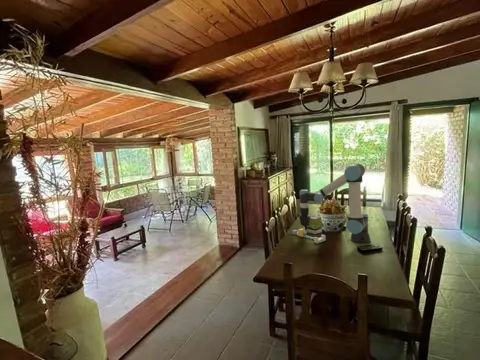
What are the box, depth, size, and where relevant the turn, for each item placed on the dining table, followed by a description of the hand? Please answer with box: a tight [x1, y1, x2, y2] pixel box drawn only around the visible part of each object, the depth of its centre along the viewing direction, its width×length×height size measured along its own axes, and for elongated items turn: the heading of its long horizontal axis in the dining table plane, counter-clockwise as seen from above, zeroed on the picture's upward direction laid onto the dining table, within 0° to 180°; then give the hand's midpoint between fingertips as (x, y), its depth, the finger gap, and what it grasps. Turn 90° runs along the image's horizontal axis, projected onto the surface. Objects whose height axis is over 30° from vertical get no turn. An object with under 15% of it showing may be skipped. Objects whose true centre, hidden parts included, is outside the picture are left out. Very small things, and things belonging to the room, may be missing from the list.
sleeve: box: [297, 227, 308, 238], centre depth 256 cm, size 5×5×6 cm
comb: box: [313, 234, 327, 244], centre depth 240 cm, size 4×10×4 cm, turn 126°
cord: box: [296, 233, 324, 243], centre depth 252 cm, size 32×2×2 cm, turn 35°
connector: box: [291, 229, 298, 236], centre depth 263 cm, size 4×4×3 cm
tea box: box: [307, 214, 323, 235], centre depth 266 cm, size 15×10×15 cm
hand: (305, 233), depth 253 cm, fingers closed
